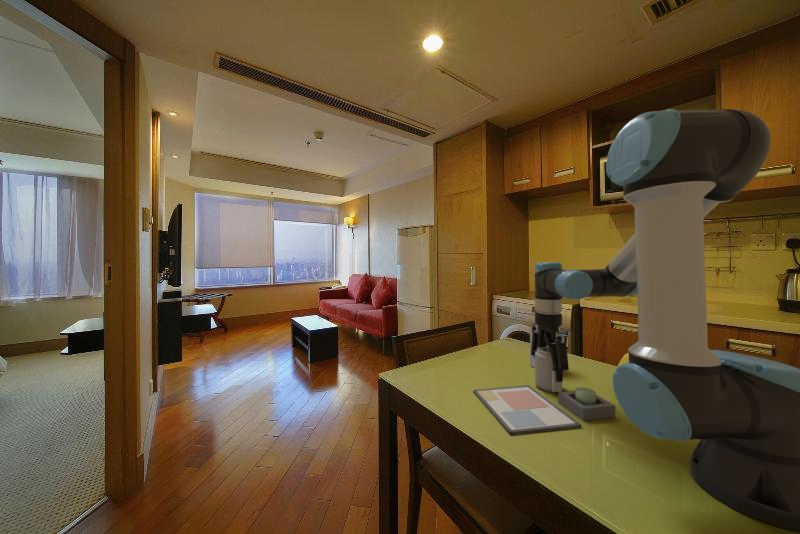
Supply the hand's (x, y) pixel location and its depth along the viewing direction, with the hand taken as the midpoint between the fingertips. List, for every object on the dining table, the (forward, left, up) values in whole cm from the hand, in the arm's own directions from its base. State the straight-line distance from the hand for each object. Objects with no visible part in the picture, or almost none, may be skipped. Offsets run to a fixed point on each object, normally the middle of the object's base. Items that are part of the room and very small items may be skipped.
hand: (548, 385), depth 92 cm
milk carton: (+15, -9, -1) cm, 18 cm away
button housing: (-14, -1, -1) cm, 14 cm away
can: (0, 0, -1) cm, 1 cm away
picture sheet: (-10, +15, -1) cm, 18 cm away
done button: (-14, -1, +1) cm, 14 cm away
